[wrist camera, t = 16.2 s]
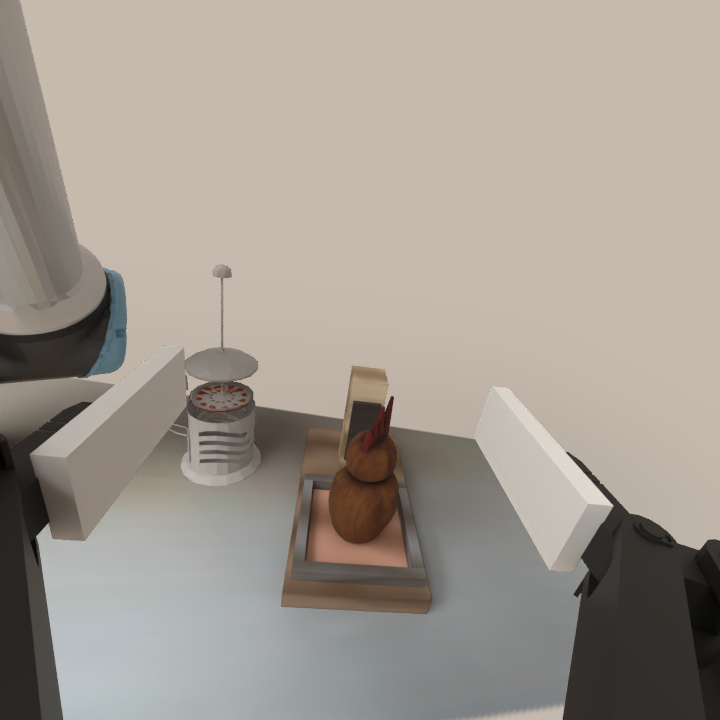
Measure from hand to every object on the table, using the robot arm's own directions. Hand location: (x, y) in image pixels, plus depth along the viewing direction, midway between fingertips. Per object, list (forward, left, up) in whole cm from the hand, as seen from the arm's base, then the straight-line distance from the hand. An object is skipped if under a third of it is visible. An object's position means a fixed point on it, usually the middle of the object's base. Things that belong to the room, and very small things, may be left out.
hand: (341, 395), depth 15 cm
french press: (-24, +13, -25) cm, 37 cm away
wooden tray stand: (-6, +18, -25) cm, 31 cm away
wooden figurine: (-3, +14, -23) cm, 27 cm away
